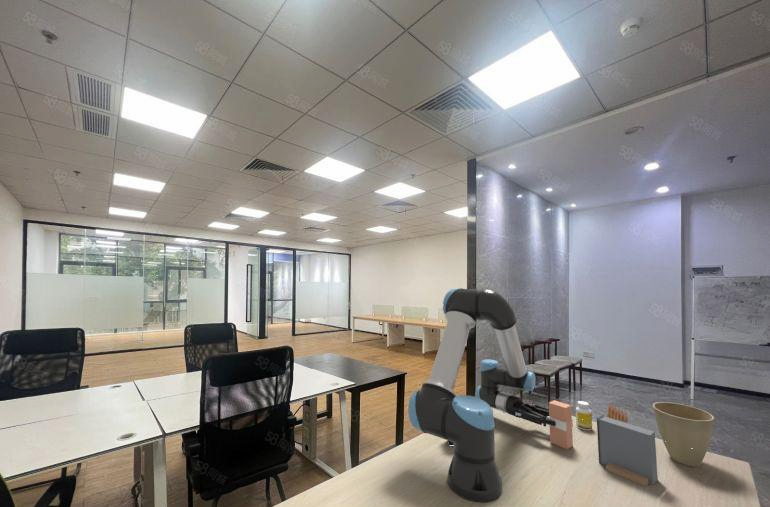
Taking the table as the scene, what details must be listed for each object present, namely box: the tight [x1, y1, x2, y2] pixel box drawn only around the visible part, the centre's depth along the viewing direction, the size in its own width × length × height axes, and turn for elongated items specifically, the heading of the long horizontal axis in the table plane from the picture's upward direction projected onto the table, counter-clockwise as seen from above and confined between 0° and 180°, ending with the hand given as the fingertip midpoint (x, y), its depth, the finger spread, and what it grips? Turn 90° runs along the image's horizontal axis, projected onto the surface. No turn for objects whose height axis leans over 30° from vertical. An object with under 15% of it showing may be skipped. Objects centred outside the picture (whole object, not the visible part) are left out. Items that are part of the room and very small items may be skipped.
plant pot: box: [652, 401, 715, 468], centre depth 107 cm, size 15×15×16 cm
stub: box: [548, 399, 574, 450], centre depth 117 cm, size 6×4×14 cm, turn 36°
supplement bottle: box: [575, 400, 593, 431], centre depth 130 cm, size 5×5×10 cm
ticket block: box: [596, 414, 659, 487], centre depth 101 cm, size 14×9×14 cm, turn 36°
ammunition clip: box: [606, 402, 629, 424], centre depth 120 cm, size 11×2×12 cm, turn 178°
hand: (569, 425), depth 114 cm, fingers closed on stub, 4 cm apart
